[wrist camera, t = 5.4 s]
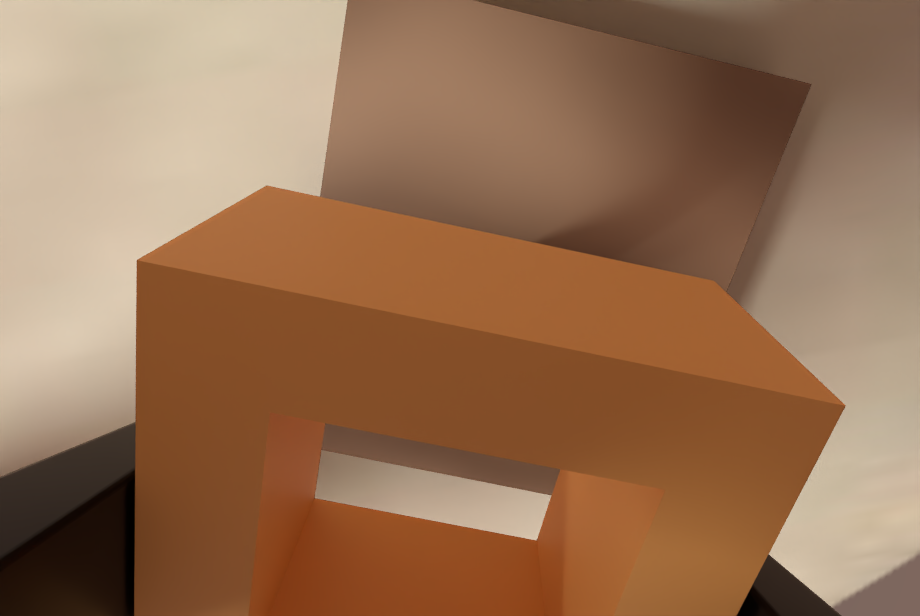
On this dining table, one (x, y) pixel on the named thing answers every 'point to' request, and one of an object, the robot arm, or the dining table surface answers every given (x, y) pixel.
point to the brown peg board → (547, 154)
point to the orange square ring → (451, 420)
